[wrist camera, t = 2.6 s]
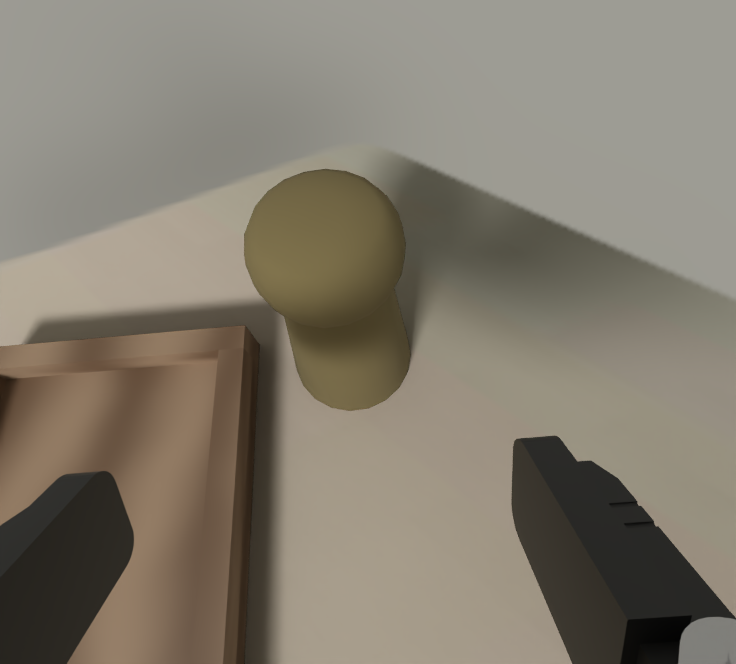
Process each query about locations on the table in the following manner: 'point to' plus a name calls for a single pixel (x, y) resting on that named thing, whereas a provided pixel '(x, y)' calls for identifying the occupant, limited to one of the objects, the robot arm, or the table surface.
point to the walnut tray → (147, 477)
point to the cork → (334, 283)
